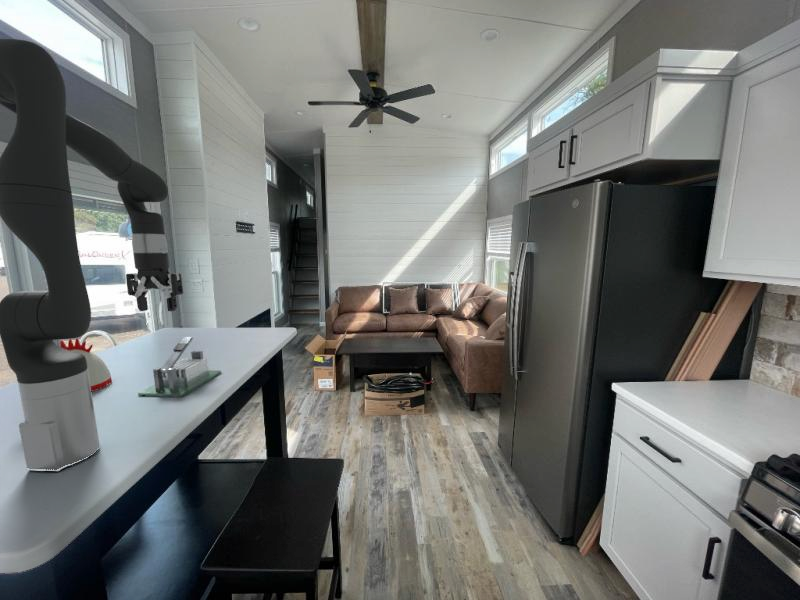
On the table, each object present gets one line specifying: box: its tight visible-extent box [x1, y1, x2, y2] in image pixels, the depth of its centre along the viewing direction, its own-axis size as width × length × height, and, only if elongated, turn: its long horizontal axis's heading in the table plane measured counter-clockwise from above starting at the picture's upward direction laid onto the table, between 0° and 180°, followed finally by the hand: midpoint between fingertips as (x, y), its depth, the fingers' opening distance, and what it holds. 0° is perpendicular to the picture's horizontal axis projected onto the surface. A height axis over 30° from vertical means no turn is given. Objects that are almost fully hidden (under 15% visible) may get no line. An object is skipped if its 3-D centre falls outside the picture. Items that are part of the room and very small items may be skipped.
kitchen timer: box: [59, 337, 112, 392], centre depth 97 cm, size 14×14×15 cm
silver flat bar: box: [159, 336, 194, 373], centre depth 98 cm, size 13×3×1 cm
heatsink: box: [137, 350, 222, 398], centre depth 100 cm, size 18×13×8 cm
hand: (157, 310), depth 91 cm, fingers open, 7 cm apart
